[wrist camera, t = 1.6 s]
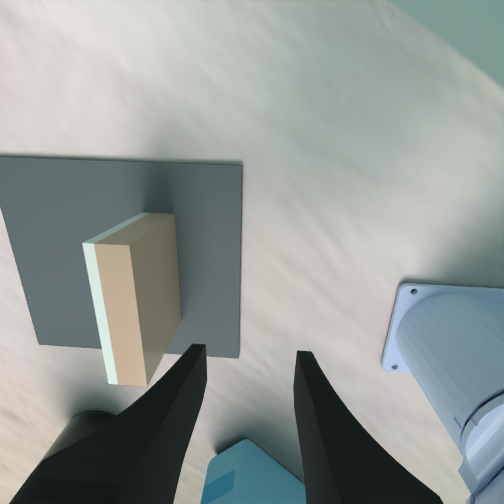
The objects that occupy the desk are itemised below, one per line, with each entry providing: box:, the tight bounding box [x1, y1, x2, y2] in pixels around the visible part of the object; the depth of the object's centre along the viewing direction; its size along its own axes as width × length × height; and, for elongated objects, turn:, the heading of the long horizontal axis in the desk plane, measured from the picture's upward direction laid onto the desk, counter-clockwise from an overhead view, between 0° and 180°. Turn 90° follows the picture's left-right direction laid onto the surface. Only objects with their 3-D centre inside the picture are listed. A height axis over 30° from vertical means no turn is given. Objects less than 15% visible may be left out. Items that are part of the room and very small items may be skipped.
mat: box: [0, 157, 242, 358], centre depth 23 cm, size 18×16×1 cm
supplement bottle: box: [34, 411, 115, 470], centre depth 24 cm, size 7×7×12 cm
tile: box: [82, 212, 182, 387], centre depth 19 cm, size 2×9×7 cm, turn 178°
